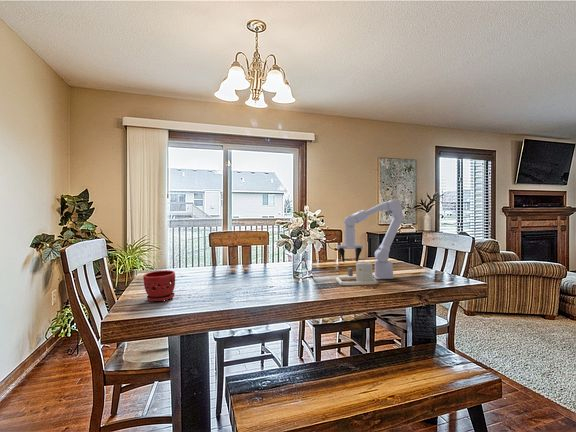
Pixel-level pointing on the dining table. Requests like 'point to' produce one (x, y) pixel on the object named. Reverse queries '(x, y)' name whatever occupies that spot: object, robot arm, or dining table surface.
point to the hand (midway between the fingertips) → (350, 261)
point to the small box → (364, 271)
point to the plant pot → (159, 285)
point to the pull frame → (350, 276)
